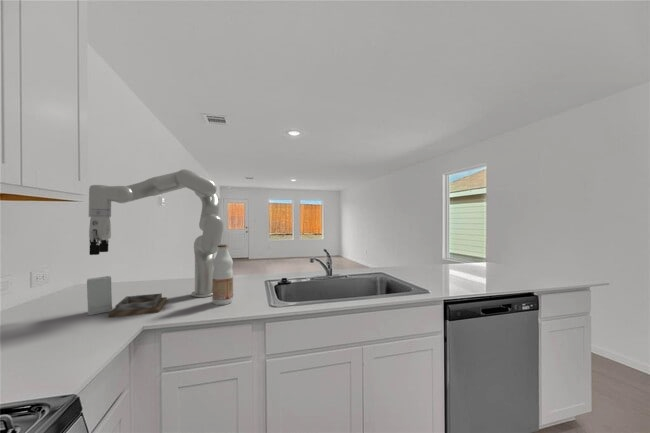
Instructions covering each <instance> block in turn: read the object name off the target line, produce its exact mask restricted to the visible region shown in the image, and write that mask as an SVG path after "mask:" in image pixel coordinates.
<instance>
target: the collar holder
mask: <svg viewBox="0 0 650 433" xmlns="http://www.w3.org/2000/svg"><path fill="white" fill-rule="evenodd" d="M162 296H163V294H162V292H161V293H152V294H150V293H149V294H142V295H141V294H140V295H139V294H138V295H129V296H127V295H126V296H125V297H124V298H122V299H121V300H120V301H119V302H118V303H117V304H116V305H115V308H112V311H110V312H108V318H116V317H115V316H117V317H123V316H124V317H125V315H126V316H134V315H133V314H136V315H143V313H145V314H150V313H151V314H153V313H154V312H155V313H160V311H161V310H162V308H163V307H164V305H165V303H166V302H167V301H168V300H167V299H168V298H167V297H162Z"/></svg>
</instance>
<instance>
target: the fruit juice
mask: <svg viewBox="0 0 650 433" xmlns="http://www.w3.org/2000/svg"><path fill="white" fill-rule="evenodd" d="M233 265H234V260H233V258H232V257H231V254H230V252H229V244H227V243H222V244H221V243H220V244H219V245H218V251H217V252H216V255H215V256H214V261H213V267H214V271H213V288H212V296H211V297H212V304H213V305H217V306H222V305H224V306H225V305H229V304H232V303H233V301H234V270H233Z"/></svg>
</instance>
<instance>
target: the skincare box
mask: <svg viewBox="0 0 650 433" xmlns="http://www.w3.org/2000/svg"><path fill="white" fill-rule="evenodd" d="M86 290H87V291H86V292H87V293H86V294H87V295H86V296H87V316H92V315H97V314H104V313H110V312H111V311H112V310H113V299H112V297H113V296H112V276H111V275H106V276H98V277H92V278H87V279H86Z"/></svg>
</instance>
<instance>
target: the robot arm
mask: <svg viewBox="0 0 650 433" xmlns="http://www.w3.org/2000/svg"><path fill="white" fill-rule="evenodd" d="M185 188H186V189H188V190H191V191H192V192H193V191H194V194H195V195H196V196H197V197H198V198H199V199H200V201H201V213H200V219H199V221H198V222H199V226H198V227H199V229H200V230H201V231H202V235H201V234H200V235H198V236H197V237H196V238H195V240H194V242H193V252H194V291H192V292H191V297H193V298H207V297H212V288H213V271H214V267H213V261H214V259H215V254H217V252H218V245H219V244H221V242H222V237H223V230H224V222H223V220H222V218H221V217H220V216H219V214H220V213H219V211H220V201H219V198H218V195H217V194H216V193H217V185H216V183H215V182H213V181H212V180H210V179H209V178H207V177H204V176H203V175H201V174H198V173H196V172H193V171H192V170H189V169H185V168H184V169H180V170H178V171H175V172H171V173H165V174H163V175H162V174H161V175H159V176H154V177H151V178H148V179H145V180H142V181H140V182H137V183H134V184H133V183H132V184H129V185H110V186H109V185H104V184H102V185H101V184H93V185H90V186H89V188H88V189H89V190H88V218H90V219H89V227H88V229H89V230H88V237H89V238H88V240H89V245H88V246H89V255H90V256H94V255H95V256H98V255H100V253H108V252H109V242H110V241H109V240H110V239H111V237H112V231H111V230H112V228H111V225H112V224H111V217H112V202H114V203H118V204H126V203H129V202H134V201H137V200H140V199H144V198H148V197H156V196H158V195H163V194H167V193H170V192H174V191H177V190H182V189H185Z"/></svg>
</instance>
